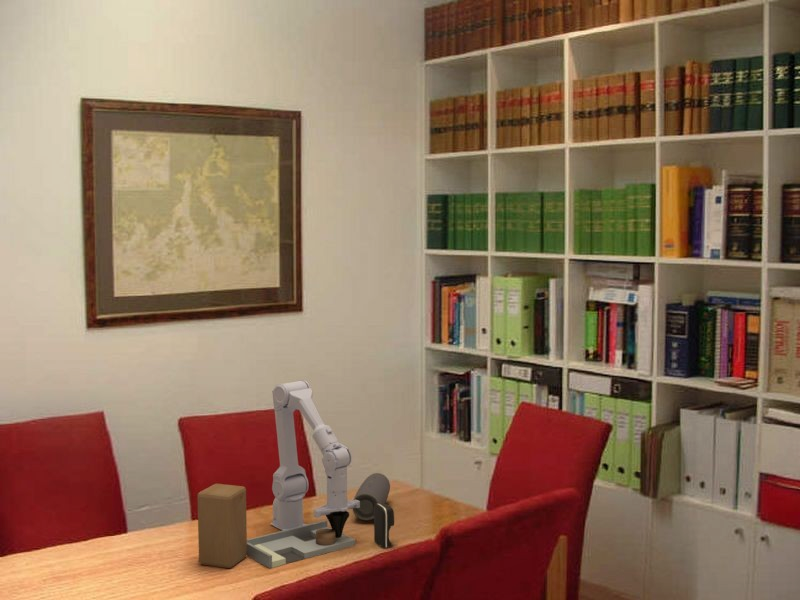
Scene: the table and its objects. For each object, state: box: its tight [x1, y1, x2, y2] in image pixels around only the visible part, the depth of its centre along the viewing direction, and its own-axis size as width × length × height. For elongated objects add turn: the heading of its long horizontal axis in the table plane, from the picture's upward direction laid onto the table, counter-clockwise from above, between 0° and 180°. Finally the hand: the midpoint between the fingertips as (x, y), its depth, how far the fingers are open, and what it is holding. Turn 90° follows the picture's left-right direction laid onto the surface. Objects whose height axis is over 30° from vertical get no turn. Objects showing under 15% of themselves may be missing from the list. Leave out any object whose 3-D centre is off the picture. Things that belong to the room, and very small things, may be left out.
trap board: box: [246, 519, 356, 569], centre depth 277 cm, size 15×28×3 cm, turn 128°
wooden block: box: [197, 483, 248, 569], centre depth 267 cm, size 10×10×20 cm
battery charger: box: [373, 503, 395, 549], centre depth 280 cm, size 7×4×11 cm, turn 25°
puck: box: [316, 528, 335, 546], centre depth 277 cm, size 6×6×3 cm
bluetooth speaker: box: [351, 472, 391, 521], centre depth 308 cm, size 23×9×10 cm, turn 172°
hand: (337, 536), depth 280 cm, fingers closed
